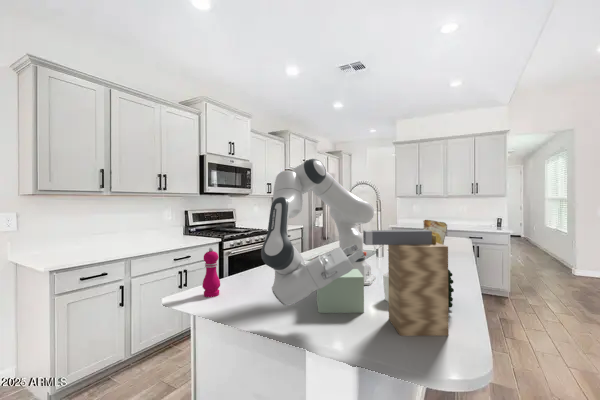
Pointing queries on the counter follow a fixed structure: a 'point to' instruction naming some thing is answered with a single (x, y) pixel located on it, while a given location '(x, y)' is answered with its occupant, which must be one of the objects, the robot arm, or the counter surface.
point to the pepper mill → (211, 274)
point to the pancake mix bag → (436, 229)
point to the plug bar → (397, 237)
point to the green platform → (343, 294)
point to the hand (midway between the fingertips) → (359, 248)
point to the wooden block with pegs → (418, 289)
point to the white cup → (386, 286)
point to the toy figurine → (450, 289)
